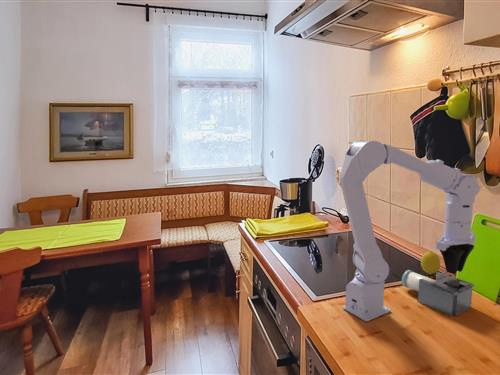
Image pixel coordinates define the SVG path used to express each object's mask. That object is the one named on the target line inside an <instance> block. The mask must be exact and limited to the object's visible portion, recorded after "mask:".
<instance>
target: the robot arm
mask: <svg viewBox="0 0 500 375" xmlns="http://www.w3.org/2000/svg"><path fill="white" fill-rule="evenodd" d="M444 163H445V161H443V160H442V159H436V160H434V159H431V160H427V161H424V160H422V159H420V158H418V157H416V156H413V155H412V154H410V153H407V152H406V151H404V150H401V149H399V148H398V147H395V146H392V145H390V144H386V143H382V142H380V141H377V140H361V139H360V140H356V141H354V142H353V143H352V144H351V145H350V147H348V149H347V150H346V151H345V153H344V161H343V164H342V168H341V171H340V174H339V183H340V187H341V191H342V195H343V201H344V203H345V206H346V207H345V208H346V212H347V216H348V220H349V224H350V227H351V228H350V229H351V232H352V236H353V241H354V244H352V245H353V246H352V247H353V255H352V263H353V264H354V266H355V267H356V270H355V273H354V278H353V279H352V280H350V282H348V283H347V284H346V287H345V304H344V305H343V306H342V309H343V310H345V311H347V312H349V313H350V314H352V315H354V316H356V317H357V318H359V319H361V320H362V321H364V322H369V321H371V320H374V319H376V318H378V317H380V316H382V315H386V314H387V313H391V311H392V309H391V308H389V307H388V306H386V305H384V304H385V301H384V300H385V280H386V279H387V278H388V276H389V274H390V266H389V264H388V263H387V261H386V260H385V259H384V258H383V253H382V251H381V249H380V247H379V245H378V244H377V240H376V237H375V231H374V227H373V224H372V218H371V214H370V210H369V205H368V201H367V197H366V193H365V190H364V189H365V188H364V184H363V182H364V181H365V180H366V178H367V177H368V176H369V174H371V173H372V172H374V171H375V170H376V169H378V168H379V167H381V166H382V165H383V164H385V165H390V164H394V165H396V166H399V167H401V168H404V169H406V170H409V171H411V172H414V173H417V174H418V176H419V179H420V181H421V182H423V183H426V184H428V185H431V186H433V187H435V188H437V189H439V190H442V191H443V192H444V193H446V196H445V197H446V198H445V215H444V226H443V227H444V228H443V229H444V230H443V235H442V236H441V238H440V239H438V240H437V241H436V245H435V248H436V250H438V251H439V252H440V253H441V255H442V258H443V262H444V266H445V271H446V272H447V273H449V274H452V275H456V274H457V272H462V271H463V270H464V267H465V264H466V261H467V259H468V257H469V256H470V253H471V252H472V251H473V250H474V248H475V243H476V233H474V232H472V222H473V221H472V219H473V208H474V207H473V206H474V203H475V198H476V196H477V195H478V194H479V193H480V191H481V188H482V186H481V185H479V181H478V179H477V177H475V176H474V175H471V174H467V173H462V172H461V169H460V168H459V167H458V168H457V167H454V168H453V167H450V166H448V165H446V164H444Z"/></svg>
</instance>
